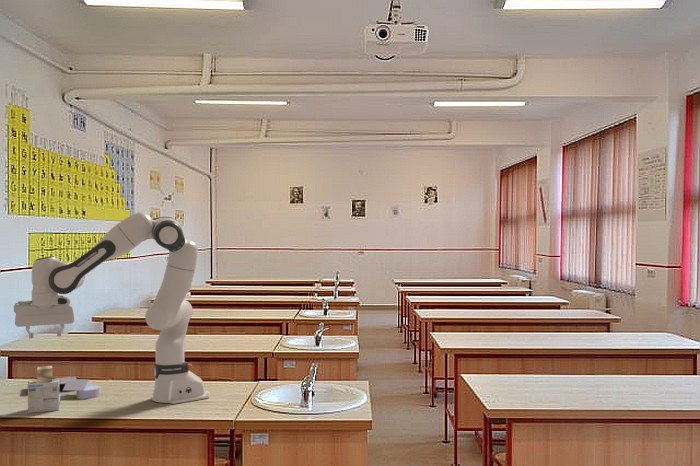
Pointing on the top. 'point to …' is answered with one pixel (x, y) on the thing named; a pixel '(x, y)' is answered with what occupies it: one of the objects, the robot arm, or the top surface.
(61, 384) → the multimeter
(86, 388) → the wedge on round base
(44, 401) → the light bulb box
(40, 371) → the ash cube
